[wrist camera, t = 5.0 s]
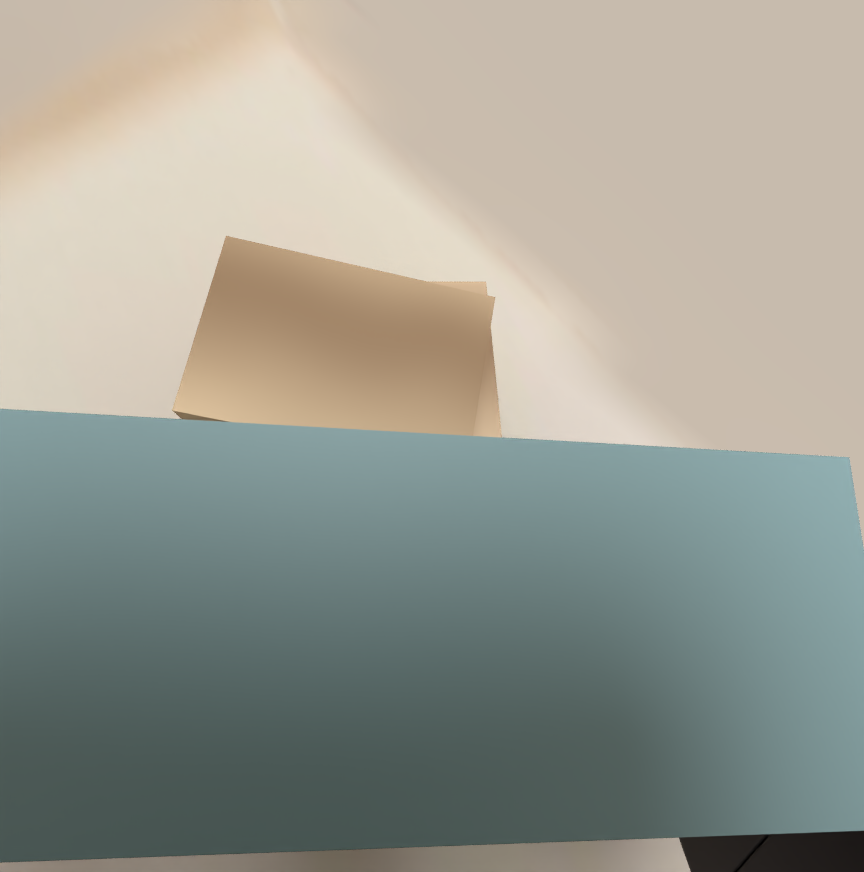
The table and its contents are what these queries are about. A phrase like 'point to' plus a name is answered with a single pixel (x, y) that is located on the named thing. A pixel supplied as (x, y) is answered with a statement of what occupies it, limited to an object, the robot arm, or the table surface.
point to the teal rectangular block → (416, 640)
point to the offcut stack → (339, 348)
